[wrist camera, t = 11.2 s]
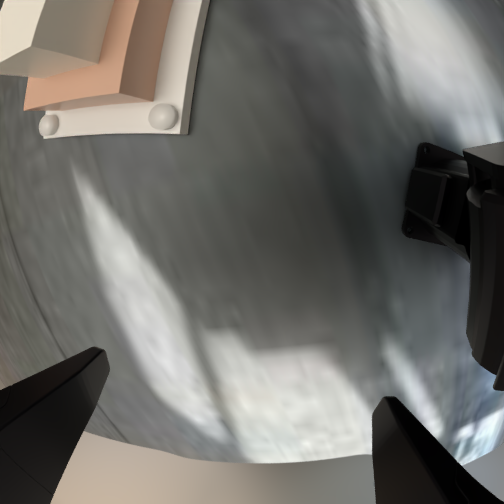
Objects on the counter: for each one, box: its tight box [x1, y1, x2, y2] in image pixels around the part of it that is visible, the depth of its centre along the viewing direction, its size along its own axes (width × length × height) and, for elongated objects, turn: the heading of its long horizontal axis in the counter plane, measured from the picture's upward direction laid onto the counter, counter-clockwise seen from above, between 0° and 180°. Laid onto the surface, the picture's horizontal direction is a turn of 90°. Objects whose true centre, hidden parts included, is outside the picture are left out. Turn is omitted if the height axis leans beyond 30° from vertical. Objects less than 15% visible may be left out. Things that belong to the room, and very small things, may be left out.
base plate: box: [24, 0, 210, 139], centre depth 12 cm, size 12×12×6 cm
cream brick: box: [0, 0, 114, 79], centre depth 7 cm, size 4×4×5 cm
